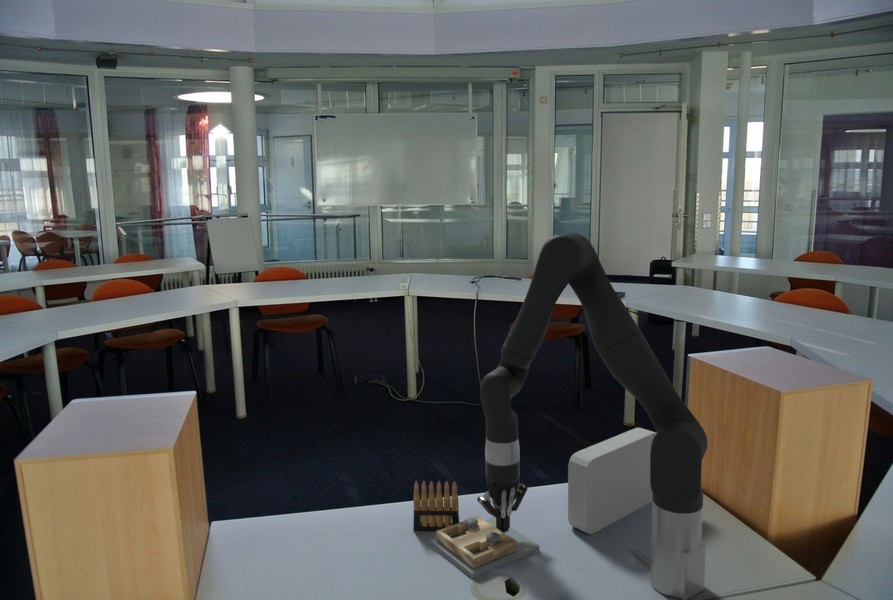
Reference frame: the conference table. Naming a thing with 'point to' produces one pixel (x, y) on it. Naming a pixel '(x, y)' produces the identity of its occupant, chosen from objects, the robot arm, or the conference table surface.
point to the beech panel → (475, 542)
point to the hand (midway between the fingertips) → (503, 530)
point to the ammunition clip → (435, 508)
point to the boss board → (523, 550)
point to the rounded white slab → (609, 480)
